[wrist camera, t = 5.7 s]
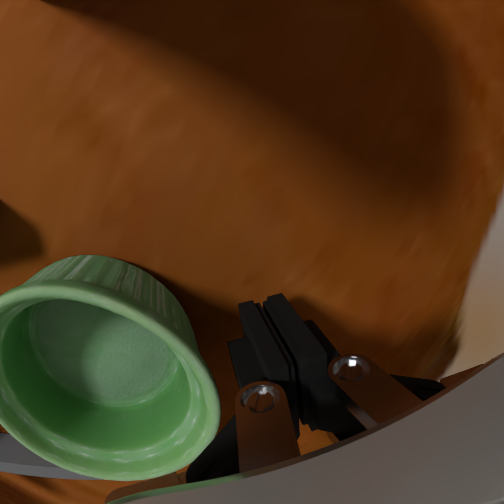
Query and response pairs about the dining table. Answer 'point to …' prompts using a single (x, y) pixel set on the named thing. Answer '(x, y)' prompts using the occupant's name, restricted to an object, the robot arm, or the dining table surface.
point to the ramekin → (104, 372)
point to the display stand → (30, 461)
